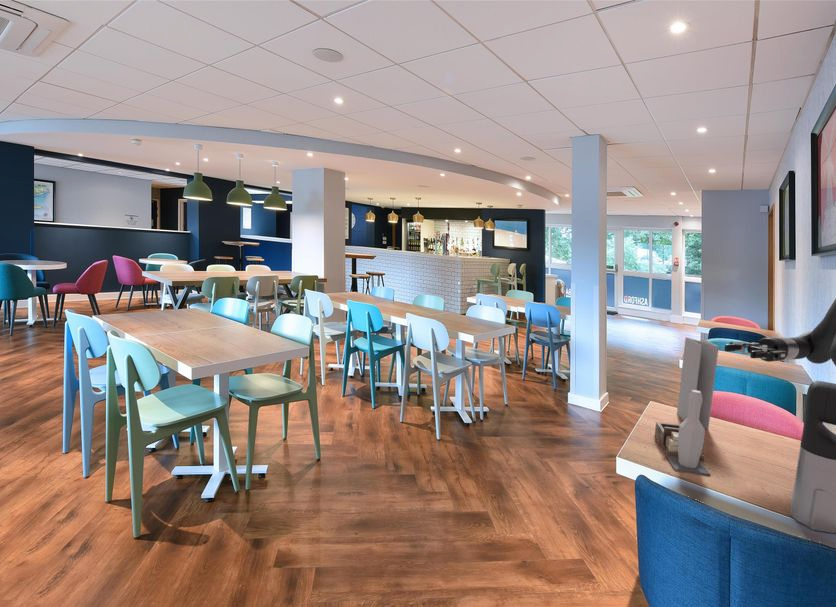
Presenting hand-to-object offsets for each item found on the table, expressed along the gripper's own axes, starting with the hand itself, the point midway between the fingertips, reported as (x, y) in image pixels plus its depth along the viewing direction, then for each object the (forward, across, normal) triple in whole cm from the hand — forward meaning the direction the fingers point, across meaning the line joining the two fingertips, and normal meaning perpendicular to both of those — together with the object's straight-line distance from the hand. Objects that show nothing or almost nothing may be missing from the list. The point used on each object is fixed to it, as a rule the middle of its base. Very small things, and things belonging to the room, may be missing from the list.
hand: (738, 351), depth 141 cm
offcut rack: (+16, -3, +32) cm, 35 cm away
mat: (+23, +7, +32) cm, 40 cm away
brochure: (-8, -20, +32) cm, 39 cm away
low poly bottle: (+23, +7, +31) cm, 39 cm away
